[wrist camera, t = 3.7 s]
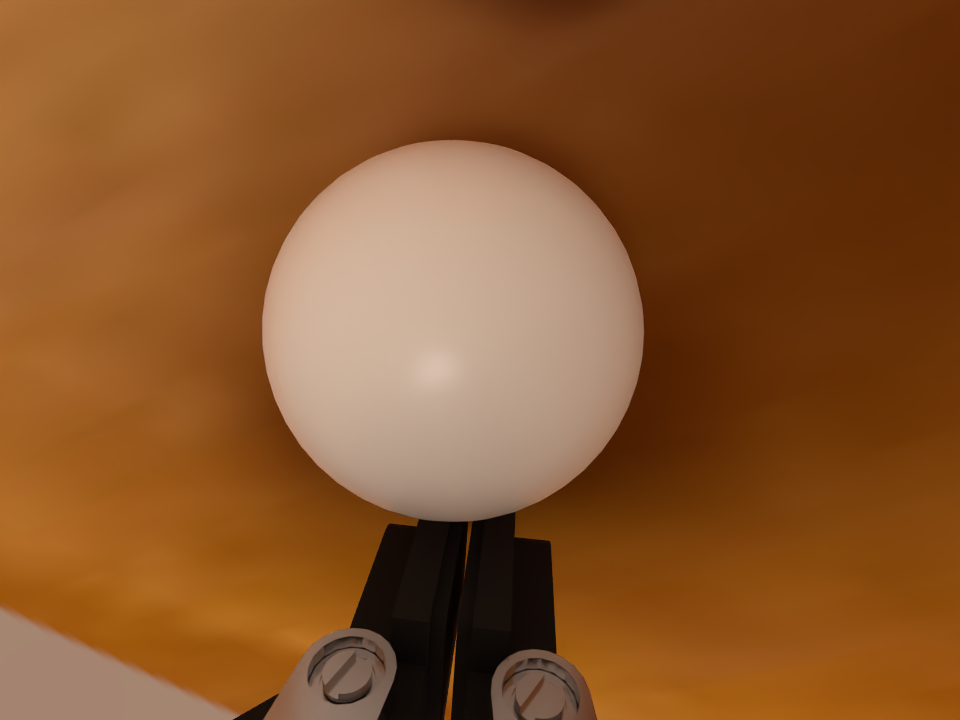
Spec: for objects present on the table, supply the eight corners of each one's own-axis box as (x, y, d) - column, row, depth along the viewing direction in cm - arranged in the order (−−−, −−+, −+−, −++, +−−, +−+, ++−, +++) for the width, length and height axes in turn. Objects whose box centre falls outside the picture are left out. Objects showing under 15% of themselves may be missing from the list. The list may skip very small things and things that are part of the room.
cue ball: (619, 497, 11) (619, 215, 11) (688, 589, 5) (683, 30, 6) (341, 485, 11) (352, 221, 12) (148, 556, 6) (182, 62, 6)
